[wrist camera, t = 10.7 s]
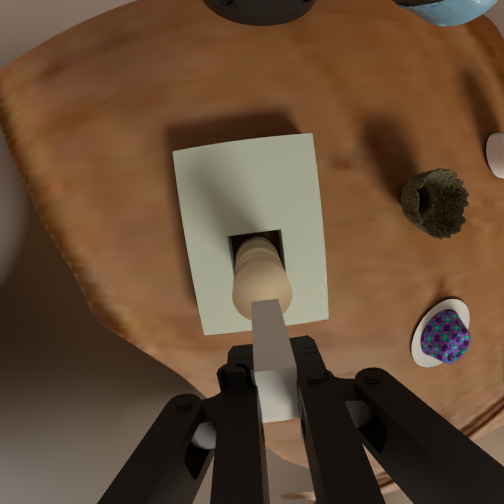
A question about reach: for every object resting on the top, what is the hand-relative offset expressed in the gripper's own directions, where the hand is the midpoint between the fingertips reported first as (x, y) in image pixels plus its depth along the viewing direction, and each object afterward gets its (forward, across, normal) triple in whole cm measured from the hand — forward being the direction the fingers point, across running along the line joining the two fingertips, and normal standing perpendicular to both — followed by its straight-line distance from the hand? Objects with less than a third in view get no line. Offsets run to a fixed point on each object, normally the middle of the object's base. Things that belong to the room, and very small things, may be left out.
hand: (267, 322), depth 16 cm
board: (+18, 0, +2) cm, 18 cm away
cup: (+18, +20, +4) cm, 27 cm away
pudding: (+19, +27, -17) cm, 37 cm away
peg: (+18, 0, 0) cm, 18 cm away
